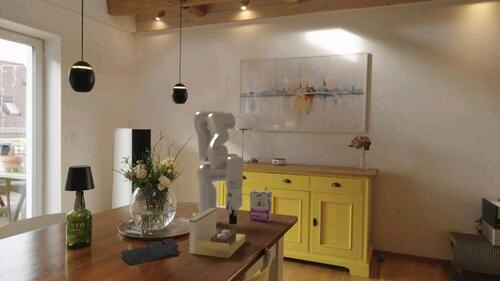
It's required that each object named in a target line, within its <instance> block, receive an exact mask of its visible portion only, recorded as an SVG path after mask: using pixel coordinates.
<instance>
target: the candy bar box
mask: <svg viewBox="0 0 500 281" xmlns="http://www.w3.org/2000/svg"><path fill="white" fill-rule="evenodd" d="M249 194H250V195H249V196H250V198H249V199H250V202H249V203H250V205H249V207H250V211H249V213H250V215H249V217H250V218H249V220H250V221H254V222H263V223H270V222H271V221H272V197H273V196H272V191H271V190H269V191H268V190H259V189H258V190H257V189H253V190H251V191H250V193H249Z"/></svg>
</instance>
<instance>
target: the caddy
mask: <svg viewBox="0 0 500 281" xmlns="http://www.w3.org/2000/svg"><path fill="white" fill-rule="evenodd" d="M217 232H218V233H216V234H215V235H214V236H212V237H211V242H219V243H227V244H229V246H230V245H231V244H232V243H234V242H235V241H236V234H237V230H233V229H223V228H222V229H221V230H218V231H217Z"/></svg>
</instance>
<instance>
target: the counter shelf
mask: <svg viewBox="0 0 500 281" xmlns="http://www.w3.org/2000/svg"><path fill="white" fill-rule="evenodd" d="M217 210H218V208H217V207H216V208H209V209H207V210H206V211H204V212H202V213H200V214H198V213H197V214H198V215H196V216H195V217H191V218H189V219H188V223H189V250H188V252H189V254H192V255H199V256H207V257H208V256H209V257H214V258H215V257H216V258H223V259H229V258H230V257H231V256H232V255H233V254H234V253H235V252H236V251H237V250H238V249H239V248H240V247H241V246H242V245H243V244H244V243H245V242H246V234H241V233H236V241H235V242H234V243H232V244H231V245H230V246H229V244H227V243H219V242H211V237H212V236H214V235H215V234H216V233H218V232H219V231H217V224H216V218H217Z"/></svg>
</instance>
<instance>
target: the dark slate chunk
mask: <svg viewBox="0 0 500 281" xmlns="http://www.w3.org/2000/svg"><path fill="white" fill-rule="evenodd" d="M172 238H173V237H172ZM172 238H171V237H170V238H167V239H162V240H161V241H162V242H161V241H157V240H154V241H148V242H147V243H146V246H140V247H135V248H131V249H130V248H129V249H122V250H121V252H120V254H121V257H122V258H123V260H124V261H125V262H126V263H127V265H130V266H137V265H141V264H145V263H151V262H155V261H159V260H160V261H161V260H165V259H169V258H175V257H178V256H179V255H181V253H179V252H178V251H177V250H178V248H179V245H178V244H177V243H176V242H175V241H174V240H173V239H172Z"/></svg>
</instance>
